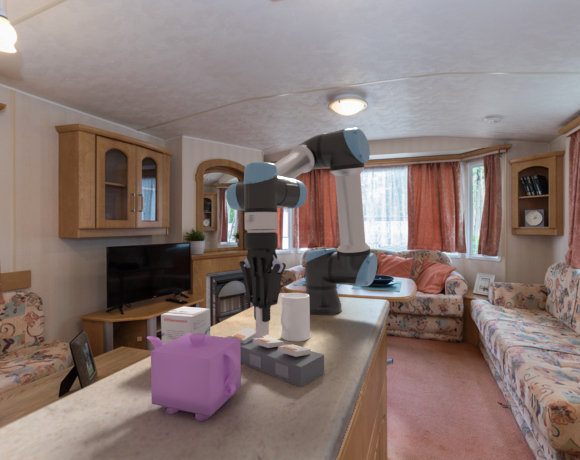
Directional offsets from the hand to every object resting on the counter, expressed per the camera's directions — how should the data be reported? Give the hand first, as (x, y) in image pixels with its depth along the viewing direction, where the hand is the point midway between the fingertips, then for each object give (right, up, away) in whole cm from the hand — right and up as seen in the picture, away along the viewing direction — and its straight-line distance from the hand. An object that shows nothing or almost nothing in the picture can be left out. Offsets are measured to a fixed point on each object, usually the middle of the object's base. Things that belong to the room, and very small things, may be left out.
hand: (262, 334), depth 75 cm
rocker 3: (+7, -2, -4) cm, 8 cm away
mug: (+7, -7, +19) cm, 21 cm away
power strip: (-1, -7, +3) cm, 8 cm away
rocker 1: (-5, -2, +7) cm, 8 cm away
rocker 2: (+1, -2, +1) cm, 3 cm away
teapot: (-12, -8, -15) cm, 21 cm away
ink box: (-19, -8, +6) cm, 21 cm away
